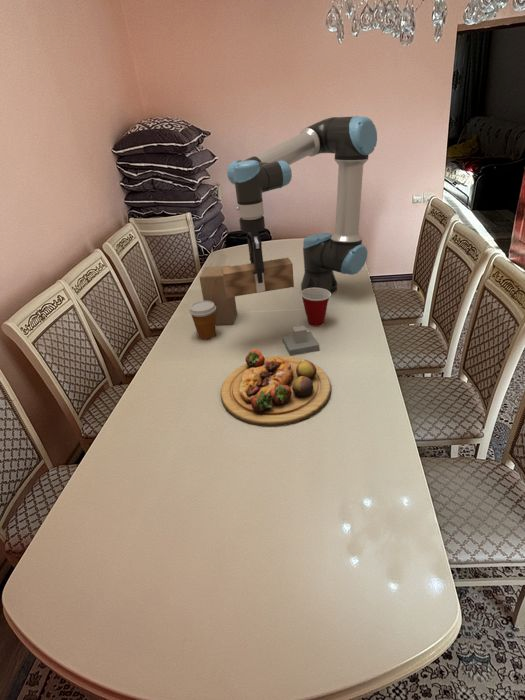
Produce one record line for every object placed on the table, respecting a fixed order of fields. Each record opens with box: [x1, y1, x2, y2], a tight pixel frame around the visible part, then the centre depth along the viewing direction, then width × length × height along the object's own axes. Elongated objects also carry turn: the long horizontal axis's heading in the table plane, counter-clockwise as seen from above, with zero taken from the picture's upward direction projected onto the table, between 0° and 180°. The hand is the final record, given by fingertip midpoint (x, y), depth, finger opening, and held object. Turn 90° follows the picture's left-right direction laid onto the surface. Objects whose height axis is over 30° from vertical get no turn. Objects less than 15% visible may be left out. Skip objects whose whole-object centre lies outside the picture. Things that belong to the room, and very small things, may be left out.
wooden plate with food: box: [220, 348, 332, 427], centre depth 129 cm, size 32×32×8 cm
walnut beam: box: [222, 257, 295, 298], centre depth 146 cm, size 22×6×8 cm, turn 100°
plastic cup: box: [300, 288, 332, 327], centre depth 162 cm, size 11×11×12 cm
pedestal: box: [281, 325, 320, 357], centre depth 150 cm, size 10×10×6 cm
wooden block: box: [198, 265, 238, 326], centre depth 170 cm, size 10×10×20 cm
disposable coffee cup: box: [189, 300, 217, 340], centre depth 162 cm, size 10×10×12 cm
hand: (259, 287), depth 148 cm, fingers closed on walnut beam, 6 cm apart
